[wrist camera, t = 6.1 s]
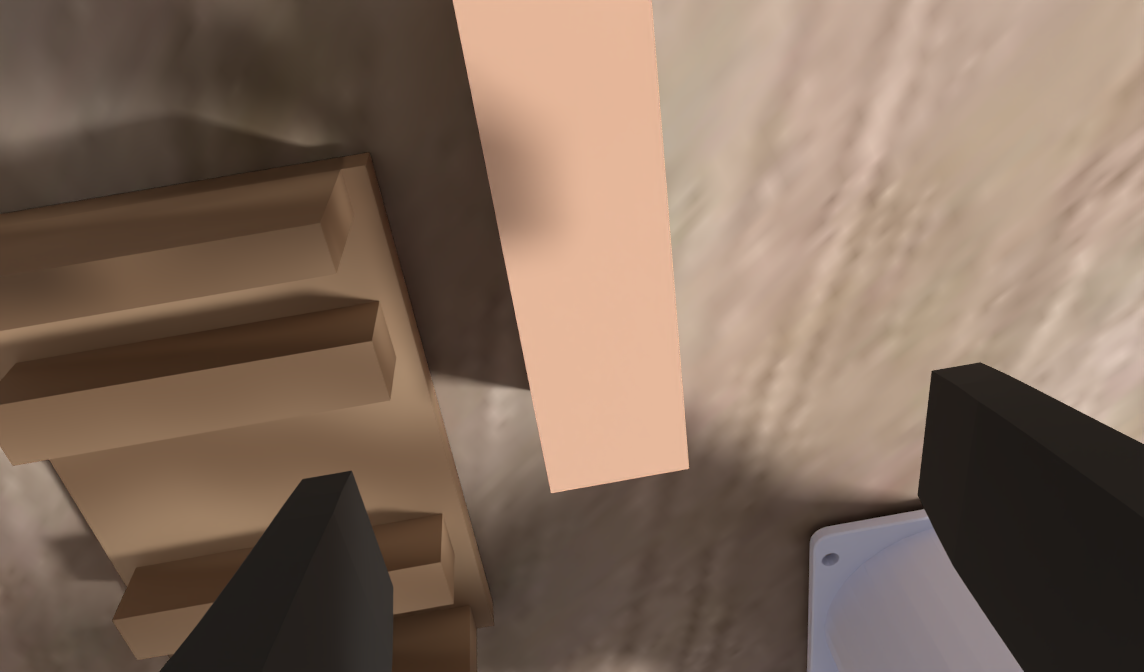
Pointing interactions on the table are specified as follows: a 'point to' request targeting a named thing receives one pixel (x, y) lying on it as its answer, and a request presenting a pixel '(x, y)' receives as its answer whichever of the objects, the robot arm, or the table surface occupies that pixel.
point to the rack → (234, 391)
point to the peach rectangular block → (583, 227)
